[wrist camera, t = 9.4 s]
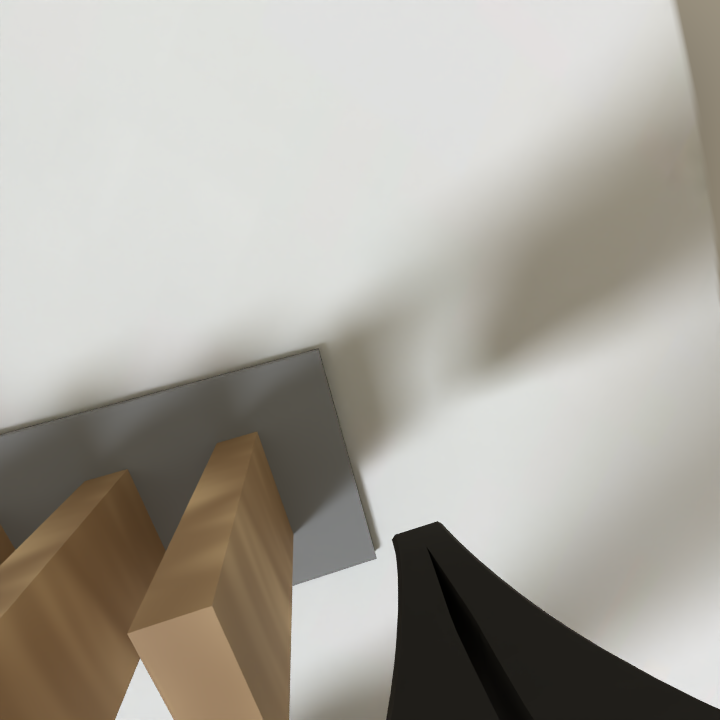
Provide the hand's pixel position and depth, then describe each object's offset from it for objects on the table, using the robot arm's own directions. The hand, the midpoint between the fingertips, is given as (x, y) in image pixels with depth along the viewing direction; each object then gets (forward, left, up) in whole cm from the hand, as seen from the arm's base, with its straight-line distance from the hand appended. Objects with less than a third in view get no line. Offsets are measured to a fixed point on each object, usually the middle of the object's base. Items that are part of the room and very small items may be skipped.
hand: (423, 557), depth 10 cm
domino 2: (0, +5, -6) cm, 8 cm away
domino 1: (0, +10, -6) cm, 12 cm away
